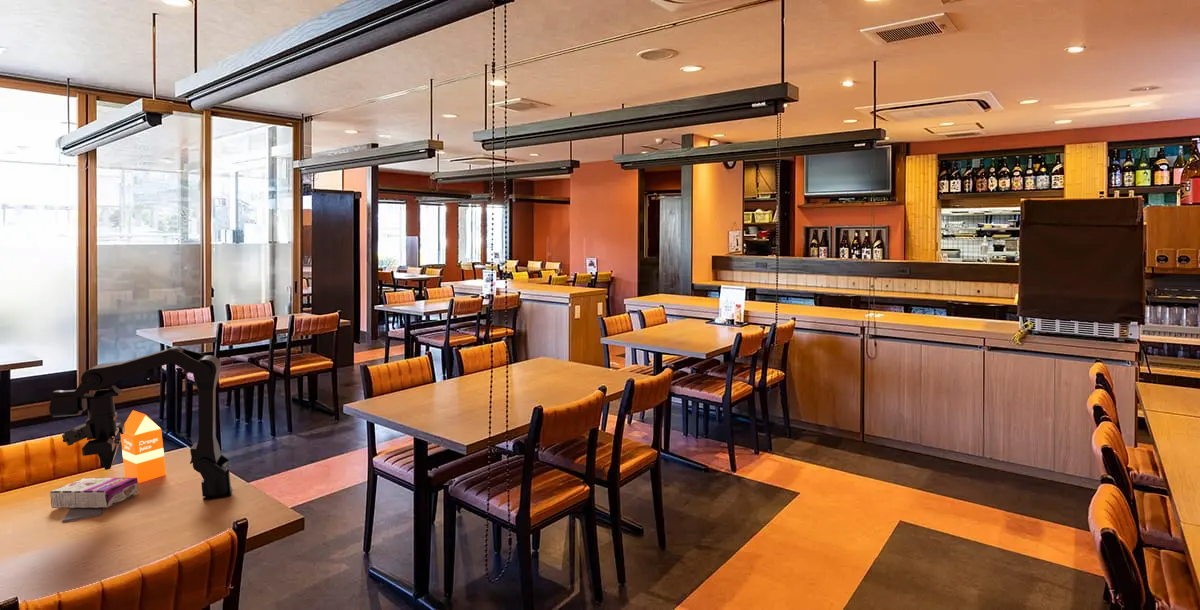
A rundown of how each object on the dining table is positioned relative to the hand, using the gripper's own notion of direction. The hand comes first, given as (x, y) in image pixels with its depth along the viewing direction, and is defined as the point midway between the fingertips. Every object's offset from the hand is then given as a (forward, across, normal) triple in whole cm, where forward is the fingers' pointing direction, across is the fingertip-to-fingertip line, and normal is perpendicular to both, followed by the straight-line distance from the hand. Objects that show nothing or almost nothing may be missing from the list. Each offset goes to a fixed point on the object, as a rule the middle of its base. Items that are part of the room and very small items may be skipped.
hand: (107, 469), depth 177 cm
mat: (+11, 0, -6) cm, 13 cm away
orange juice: (+11, -23, +4) cm, 26 cm away
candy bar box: (+8, -2, +2) cm, 9 cm away
